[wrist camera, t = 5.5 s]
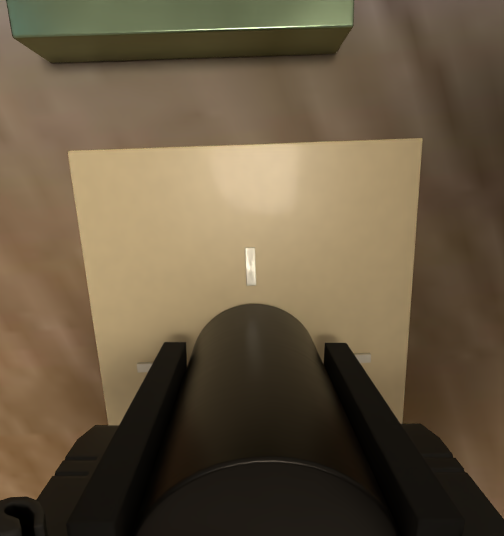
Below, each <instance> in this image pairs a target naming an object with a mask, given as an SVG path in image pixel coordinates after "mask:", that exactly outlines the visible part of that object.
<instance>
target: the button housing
mask: <svg viewBox="0 0 504 536" xmlns="http://www.w3.org/2000/svg"><path fill="white" fill-rule="evenodd" d="M6 2H7V8H8V14H9V20H10V26H11V31H12V36H13V38H14V39H16V40H17V41H19V42H20V43H22V44H23V45H25V46H26V47H28V48H29V49H31V50H32V51H34V52H35V53H37V54H38V55H40V56H41V57H43V58H44V59H46V60H47V61H49V62H51V63H60V62H90V61H120V60H150V59H180V58H211V57H241V56H271V55H301V54H331V53H336V52H337V51H338V49H339V48H340V46H341V44H342V43H343V41H344V40H345V38H346V37H347V35H348V34H349V32H350V31H351V29H352V28H353V22H354V0H6Z"/></svg>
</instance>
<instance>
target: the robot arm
mask: <svg viewBox="0 0 504 536" xmlns="http://www.w3.org/2000/svg"><path fill="white" fill-rule="evenodd" d="M324 366H325V369H326V371H327V373H328V375H329V377H330V380H331V382H332V384H333V386H334V388H335V391H336V393H337V395H338V397H339V399H340V402H341V404H342V406H343V408H344V410H345V413H346V415H347V417H348V419H349V421H350V424H351V426H352V428H353V430H354V432H355V435H356V437H357V439H358V441H359V443H360V446H361V448H362V450H363V452H364V454H365V457H366V459H367V461H368V463H369V465H370V468H371V470H372V472H373V474H374V476H375V479H376V481H377V483H378V485H379V488H380V490H381V492H382V494H383V496H384V499H385V501H386V503H387V505H388V507H389V510H390V512H391V514H392V516H393V518H394V521H395V523H396V525H397V528H398V530H399V533H400V535H401V536H504V519H503V518H502V516H501V515H500V514H499V513H498V511H497V510H496V509H495V508H494V506H493V505H492V504H491V503H490V501H489V500H488V499H487V497H486V496H485V495H484V494H483V492H482V491H481V490H480V489H479V487H478V486H477V485H476V483H475V482H474V481H473V480H472V478H471V477H470V476H469V475H468V473H465V472H464V468H463V467H462V466H461V464H460V463H459V462H458V461H457V459H456V458H453V455H452V453H451V452H450V451H449V449H448V448H447V447H446V445H445V444H444V443H443V442H442V440H441V439H440V438H439V437H438V436H437V435H435V434H434V433H432V432H431V431H430V430H428V429H427V428H426V427H424V426H423V425H422V424H400V422H399V421H398V419H397V418H396V416H395V415H394V413H393V412H392V410H391V409H390V407H389V406H388V404H387V403H386V401H385V400H384V398H383V397H382V395H381V394H380V392H379V391H378V389H377V388H376V386H375V385H374V383H373V382H372V380H371V379H370V377H369V376H368V374H367V373H366V371H365V370H364V368H363V367H362V365H361V364H360V362H359V361H358V359H357V358H356V356H355V355H354V353H353V352H352V350H351V349H350V347H349V346H348V344H347V343H325V348H324ZM186 369H187V353H186V342H164V343H163V345H162V347H161V349H160V351H159V353H158V354H157V356H156V358H155V360H154V362H153V364H152V366H151V367H150V369H149V371H148V373H147V375H146V377H145V378H144V380H143V382H142V384H141V386H140V388H139V390H138V391H137V393H136V395H135V397H134V399H133V401H132V402H131V404H130V406H129V408H128V410H127V412H126V414H125V415H124V417H123V419H122V421H121V423H120V425H95V426H94V427H92V428H91V429H90V430H89V431H88V432H86V433H85V434H84V435H83V436H81V437H80V438H79V439H78V440H77V441H76V442H75V444H74V445H73V447H72V448H71V450H70V451H69V453H68V454H67V456H66V457H65V461H63V462H62V463H61V464H60V466H59V467H58V469H57V470H56V472H55V476H52V478H51V479H50V481H49V482H48V484H47V485H46V487H45V488H44V489H43V491H42V492H41V494H40V495H39V497H38V498H37V500H34V499H32V498H29V497H10V498H7V499H4V500H1V501H0V536H131V534H132V531H133V528H134V525H135V522H136V519H137V516H138V513H139V510H140V507H141V504H142V501H143V498H144V495H145V492H146V489H147V486H148V483H149V480H150V477H151V474H152V471H153V468H154V465H155V462H156V459H157V456H158V453H159V450H160V447H161V444H162V441H163V438H164V435H165V432H166V429H167V426H168V423H169V420H170V417H171V414H172V411H173V408H174V405H175V402H176V399H177V396H178V393H179V390H180V387H181V384H182V381H183V378H184V375H185V372H186Z"/></svg>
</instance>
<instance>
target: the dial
mask: <svg viewBox="0 0 504 536" xmlns="http://www.w3.org/2000/svg"><path fill="white" fill-rule="evenodd" d="M131 536H401V535H400V533H399V530H398V528H397V525H396V523H395V521H394V518H393V516H392V514H391V512H390V510H389V507H388V505H387V503H386V501H385V499H384V496H383V494H382V492H381V490H380V488H379V485H378V483H377V481H376V479H375V476H374V474H373V472H372V470H371V468H370V465H369V463H368V461H367V459H366V457H365V454H364V452H363V450H362V448H361V446H360V443H359V441H358V439H357V437H356V435H355V432H354V430H353V428H352V426H351V424H350V421H349V419H348V417H347V415H346V413H345V410H344V408H343V406H342V404H341V402H340V399H339V397H338V395H337V393H336V391H335V388H334V386H333V384H332V382H331V380H330V377H329V375H328V373H327V371H326V369H325V366H324V364H323V362H322V360H321V358H320V355H319V353H318V351H317V349H316V347H315V344H314V342H313V340H312V338H311V336H310V334H309V332H308V331H307V329H306V328H305V327H304V325H303V324H302V323H301V322H300V321H299V320H298V319H297V318H295V317H294V316H292V315H291V314H290V313H288V312H286V311H284V310H282V309H279V308H277V307H274V306H270V305H264V304H246V305H240V306H236V307H233V308H230V309H228V310H225V311H224V312H222V313H220V314H218V315H217V316H216V317H214V318H213V319H212V320H211V321H210V322H209V323H208V324H207V325H206V326H205V327H204V328H203V330H202V331H201V332H200V334H199V336H198V338H197V340H196V342H195V345H194V348H193V351H192V354H191V357H190V360H189V363H188V366H187V369H186V372H185V375H184V378H183V381H182V384H181V387H180V390H179V393H178V396H177V399H176V402H175V405H174V408H173V411H172V414H171V417H170V420H169V423H168V426H167V429H166V432H165V435H164V438H163V441H162V444H161V447H160V450H159V453H158V456H157V459H156V462H155V465H154V468H153V471H152V474H151V477H150V480H149V483H148V486H147V489H146V492H145V495H144V498H143V501H142V504H141V507H140V510H139V513H138V516H137V519H136V522H135V525H134V528H133V531H132V534H131Z"/></svg>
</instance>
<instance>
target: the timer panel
mask: <svg viewBox="0 0 504 536" xmlns="http://www.w3.org/2000/svg"><path fill="white" fill-rule="evenodd" d="M421 154H422V138H411V139H383V140H355V141H327V142H299V143H271V144H243V145H215V146H188V147H160V148H132V149H104V150H76V151H68V158H69V165H70V171H71V178H72V185H73V191H74V198H75V205H76V211H77V218H78V225H79V231H80V238H81V245H82V252H83V258H84V265H85V272H86V278H87V285H88V292H89V298H90V305H91V312H92V318H93V325H94V332H95V339H96V345H97V352H98V359H99V365H100V372H101V379H102V385H103V392H104V399H105V405H106V412H107V419H108V425H120V423H121V421H122V419H123V417H124V415H125V414H126V412H127V410H128V408H129V406H130V404H131V402H132V401H133V399H134V397H135V395H136V393H137V391H138V390H139V388H140V386H141V384H142V382H143V380H144V378H145V377H146V375H147V373H148V371H149V369H150V367H151V366H152V364H153V362H154V360H155V358H156V356H157V354H158V353H159V351H160V349H161V347H162V345H163V343H164V342H186V353H187V366H188V363H189V360H190V357H191V354H192V351H193V348H194V345H195V342H196V340H197V338H198V336H199V334H200V332H201V331H202V330H203V328H204V327H205V326H206V325H207V324H208V323H209V322H210V321H211V320H212V319H213V318H214V317H216V316H217V315H218V314H220V313H222V312H224V311H225V310H228V309H230V308H233V307H236V306H240V305H246V304H264V305H270V306H274V307H277V308H279V309H282V310H284V311H286V312H288V313H290V314H291V315H292V316H294V317H295V318H297V319H298V320H299V321H300V322H301V323H302V324H303V325H304V327H305V328H306V329H307V331H308V332H309V334H310V336H311V338H312V340H313V342H314V344H315V347H316V349H317V351H318V353H319V355H320V358H321V360H322V362H323V364H324V348H325V343H347V344H348V346H349V347H350V349H351V350H352V352H353V353H354V355H355V356H356V358H357V359H358V361H359V362H360V364H361V365H362V367H363V368H364V370H365V371H366V373H367V374H368V376H369V377H370V379H371V380H372V382H373V383H374V385H375V386H376V388H377V389H378V391H379V392H380V394H381V395H382V397H383V398H384V400H385V401H386V403H387V404H388V406H389V407H390V409H391V410H392V412H393V413H394V415H395V416H396V418H397V419H398V421H399V422H400V424H402V421H403V407H404V393H405V379H406V365H407V351H408V337H409V323H410V309H411V295H412V280H413V266H414V252H415V238H416V224H417V210H418V196H419V182H420V168H421Z"/></svg>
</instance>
